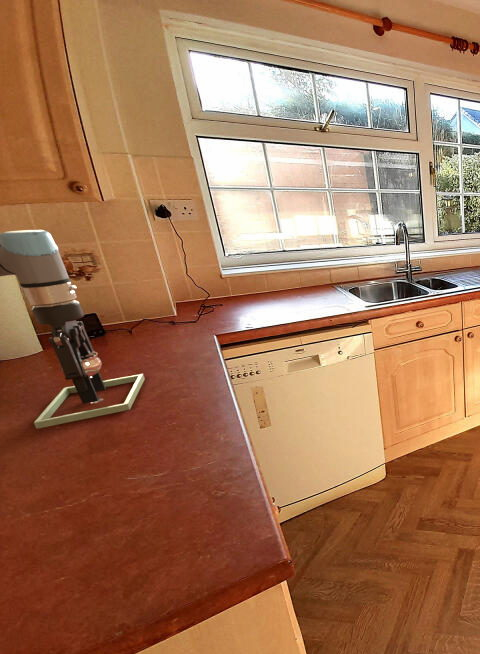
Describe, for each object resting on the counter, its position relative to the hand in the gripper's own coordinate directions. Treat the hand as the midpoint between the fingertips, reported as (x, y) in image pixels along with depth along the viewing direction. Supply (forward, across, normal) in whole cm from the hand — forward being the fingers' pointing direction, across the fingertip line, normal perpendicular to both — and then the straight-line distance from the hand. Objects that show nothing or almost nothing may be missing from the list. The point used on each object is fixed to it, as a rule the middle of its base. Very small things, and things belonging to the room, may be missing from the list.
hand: (94, 396), depth 102 cm
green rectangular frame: (+3, 0, 0) cm, 3 cm away
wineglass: (+2, 0, 0) cm, 2 cm away
